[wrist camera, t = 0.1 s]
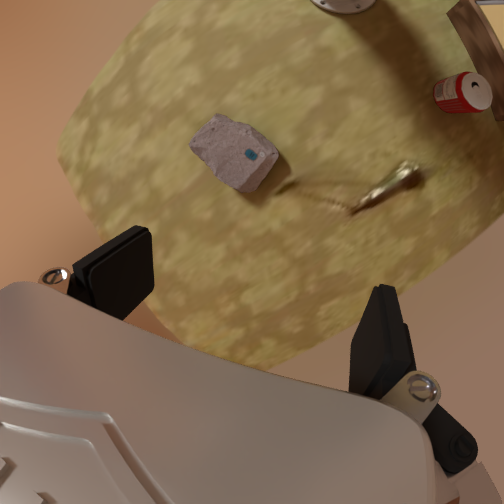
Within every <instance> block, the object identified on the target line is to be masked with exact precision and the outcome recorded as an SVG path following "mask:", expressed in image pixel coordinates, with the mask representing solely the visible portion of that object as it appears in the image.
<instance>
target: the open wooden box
mask: <svg viewBox="0 0 504 504" xmlns="http://www.w3.org/2000/svg"><path fill="white" fill-rule="evenodd" d="M475 1H485V0H460V1H459V2H458V3H457V4H456V5H455V6H454V7H452V8H451V9H450V10H449V11H448V12H447V13H446V14H447V16H448V17H449V19H450V21H451V22H452V24H453V26H454V27H455V29H456V31H457V33H458V34H459V36H460V38H461V40H462V42H463V43H464V45H465V47H466V49H467V51H468V53H469V55H470V57H471V59H472V61H473V64H474V66H475V68H476V70H477V72H478V74H479V75H481V76H483V77H484V78H485V79H486V80H487V82H488V83H489V85H490V87H491V91H492V96H493V98H492V102H491V108H492V111H493V114H494V117H495V120H496V121H504V54H503V52H502V49H501V47H500V45H499V43H498V41H497V39H496V37H495V35H494V34H493V32H492V30H491V28H490V26H489V24H488V23H487V21H486V19H485V18H484V16H483V14H482V12H481V11H480V9H479V8H478V6H477V4H476V3H475Z"/></svg>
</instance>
